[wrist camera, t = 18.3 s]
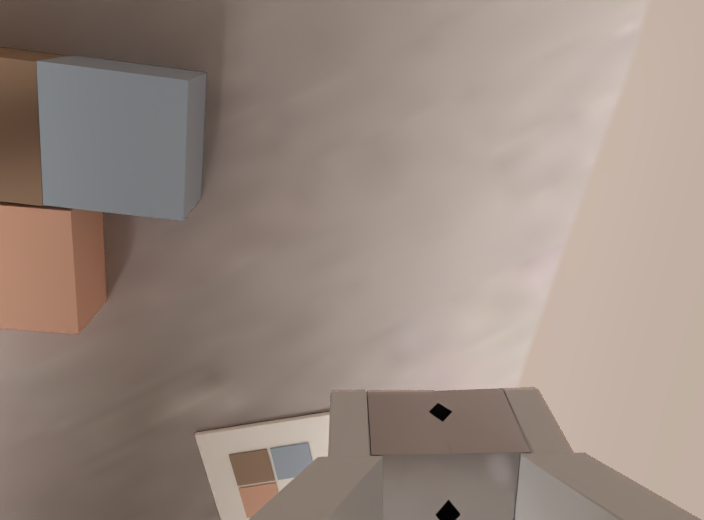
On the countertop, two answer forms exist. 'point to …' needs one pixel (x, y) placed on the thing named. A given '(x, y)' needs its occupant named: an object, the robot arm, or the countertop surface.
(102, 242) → the terracotta block
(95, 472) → the countertop surface
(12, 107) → the base block
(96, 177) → the slate block
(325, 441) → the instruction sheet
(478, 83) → the countertop surface
